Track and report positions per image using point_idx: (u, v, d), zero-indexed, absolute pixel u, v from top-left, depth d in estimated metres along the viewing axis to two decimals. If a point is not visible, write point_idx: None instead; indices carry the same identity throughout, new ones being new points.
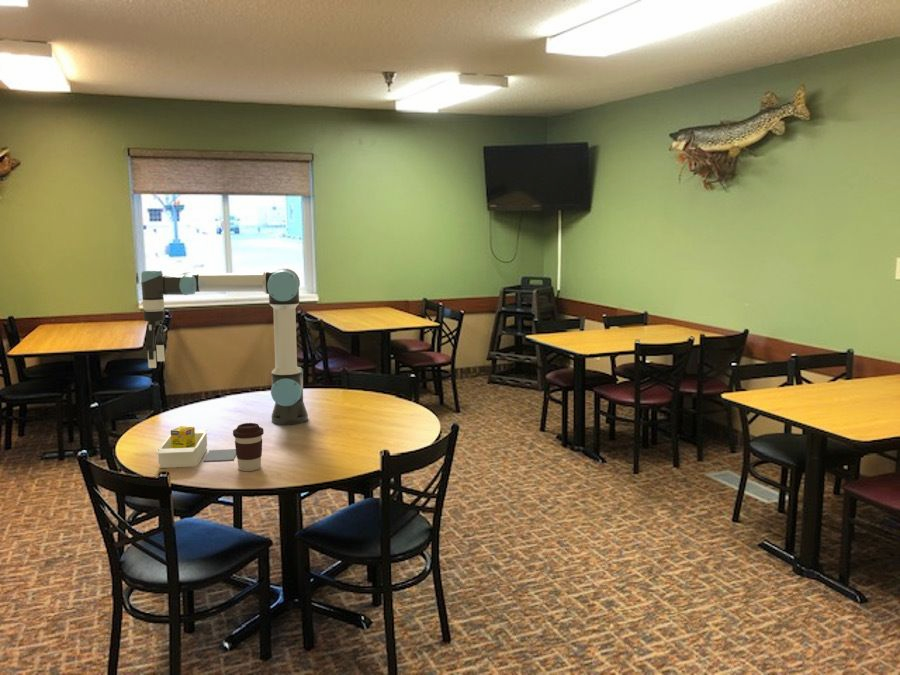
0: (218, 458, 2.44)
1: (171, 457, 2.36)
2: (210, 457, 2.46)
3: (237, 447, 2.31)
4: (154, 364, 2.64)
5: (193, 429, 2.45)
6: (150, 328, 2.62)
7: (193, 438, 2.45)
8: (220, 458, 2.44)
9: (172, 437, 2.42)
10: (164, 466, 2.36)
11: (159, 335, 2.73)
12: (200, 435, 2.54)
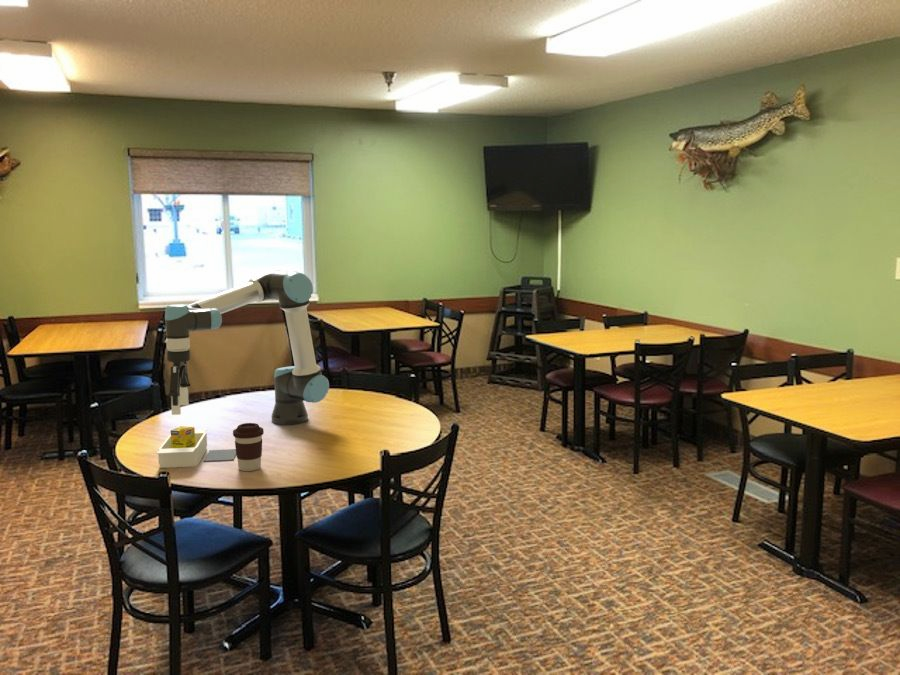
0: (218, 458, 2.44)
1: (171, 457, 2.36)
2: (210, 457, 2.46)
3: (237, 447, 2.31)
4: (178, 410, 2.36)
5: (193, 429, 2.45)
6: (174, 370, 2.34)
7: (193, 438, 2.45)
8: (220, 458, 2.44)
9: (172, 437, 2.42)
10: (164, 466, 2.36)
11: (183, 377, 2.45)
12: (200, 435, 2.54)
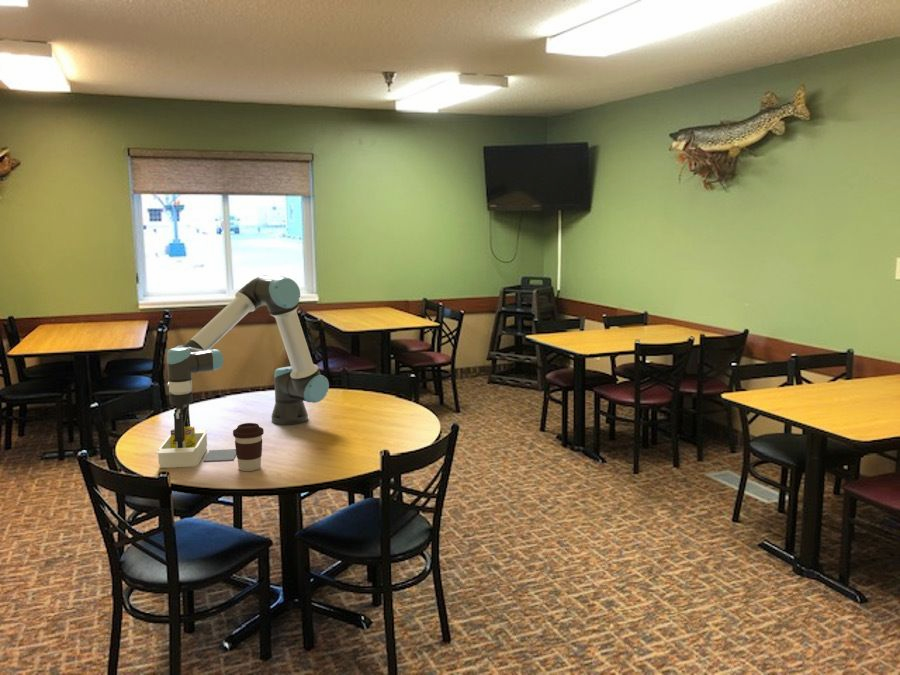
0: (218, 458, 2.44)
1: (171, 457, 2.36)
2: (210, 457, 2.46)
3: (237, 447, 2.31)
4: None
5: (193, 429, 2.45)
6: (178, 417, 2.37)
7: (193, 438, 2.45)
8: (220, 458, 2.44)
9: (172, 437, 2.42)
10: (164, 466, 2.36)
11: (185, 420, 2.46)
12: (200, 435, 2.54)
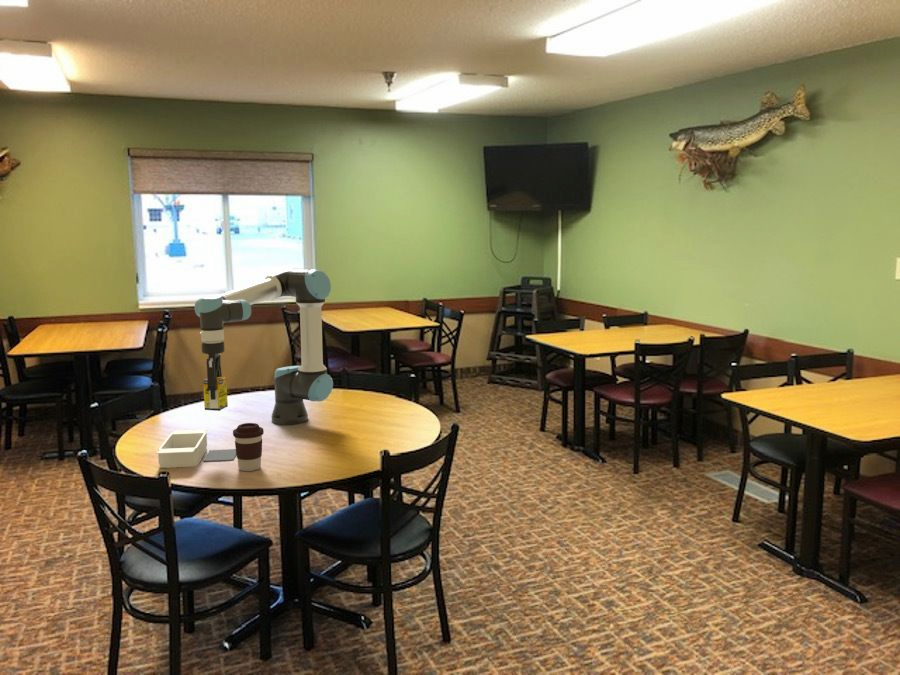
0: (218, 458, 2.44)
1: (171, 457, 2.36)
2: (210, 457, 2.46)
3: (237, 447, 2.31)
4: (216, 404, 2.41)
5: (225, 379, 2.46)
6: (210, 365, 2.37)
7: (225, 388, 2.46)
8: (220, 458, 2.44)
9: (205, 387, 2.42)
10: (164, 466, 2.36)
11: (217, 370, 2.46)
12: (200, 435, 2.54)
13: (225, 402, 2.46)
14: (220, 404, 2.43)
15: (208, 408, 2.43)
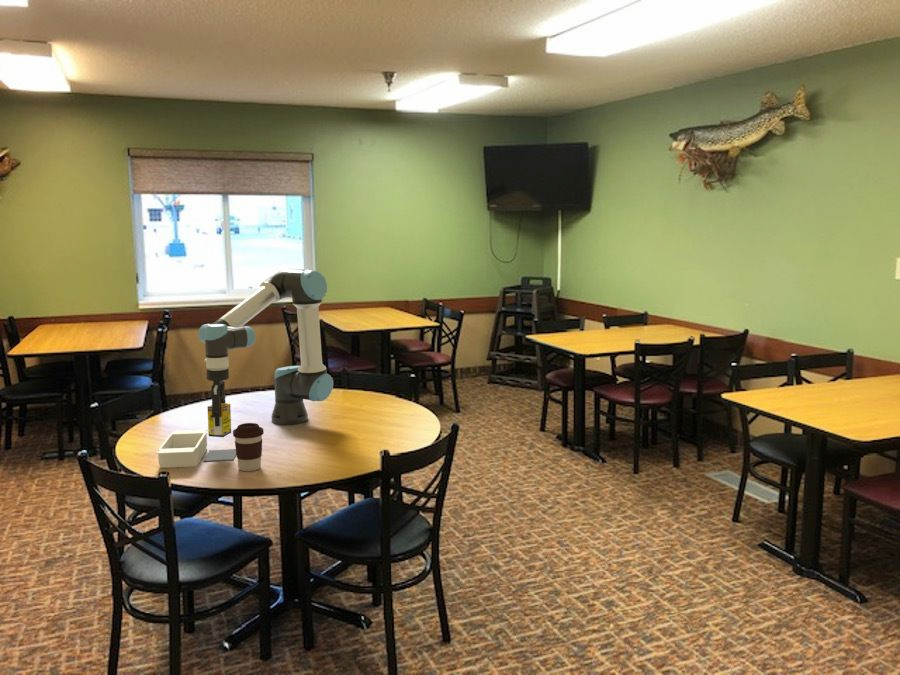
0: (218, 458, 2.44)
1: (171, 457, 2.36)
2: (210, 457, 2.46)
3: (237, 447, 2.31)
4: (220, 431, 2.43)
5: (229, 405, 2.47)
6: (215, 392, 2.39)
7: (229, 414, 2.47)
8: (220, 458, 2.44)
9: (209, 413, 2.44)
10: (164, 466, 2.36)
11: (221, 397, 2.48)
12: (200, 435, 2.54)
13: (228, 429, 2.48)
14: (224, 431, 2.45)
15: (212, 434, 2.45)
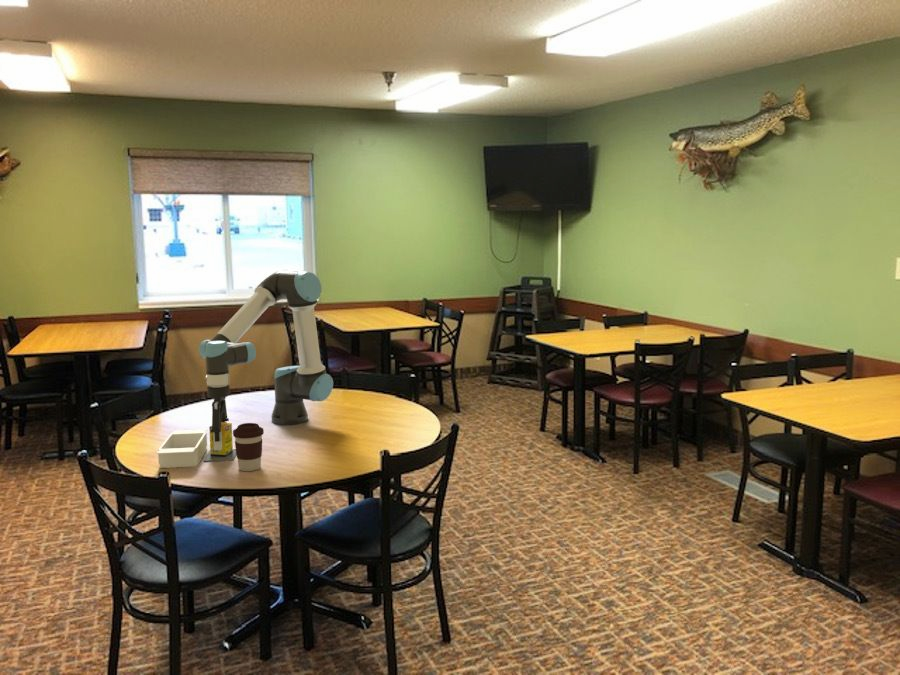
0: (218, 458, 2.44)
1: (171, 457, 2.36)
2: (210, 457, 2.46)
3: (237, 447, 2.31)
4: (220, 446, 2.42)
5: (231, 425, 2.49)
6: (216, 407, 2.39)
7: (230, 434, 2.49)
8: (220, 458, 2.44)
9: (211, 433, 2.45)
10: (164, 466, 2.36)
11: (222, 411, 2.50)
12: (200, 435, 2.54)
13: (230, 448, 2.49)
14: (226, 450, 2.46)
15: (214, 454, 2.46)
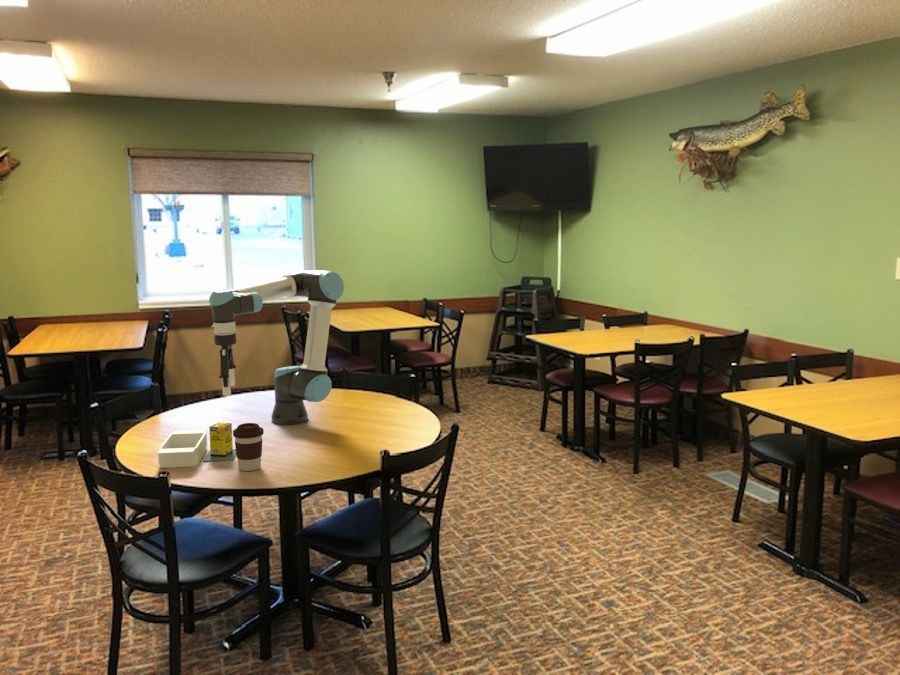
0: (218, 458, 2.44)
1: (171, 457, 2.36)
2: (210, 457, 2.46)
3: (237, 447, 2.31)
4: (229, 391, 2.47)
5: (230, 425, 2.49)
6: (224, 353, 2.44)
7: (230, 434, 2.49)
8: (220, 458, 2.44)
9: (211, 433, 2.45)
10: (164, 466, 2.36)
11: None
12: (200, 435, 2.54)
13: (230, 448, 2.49)
14: (226, 450, 2.46)
15: (214, 454, 2.46)
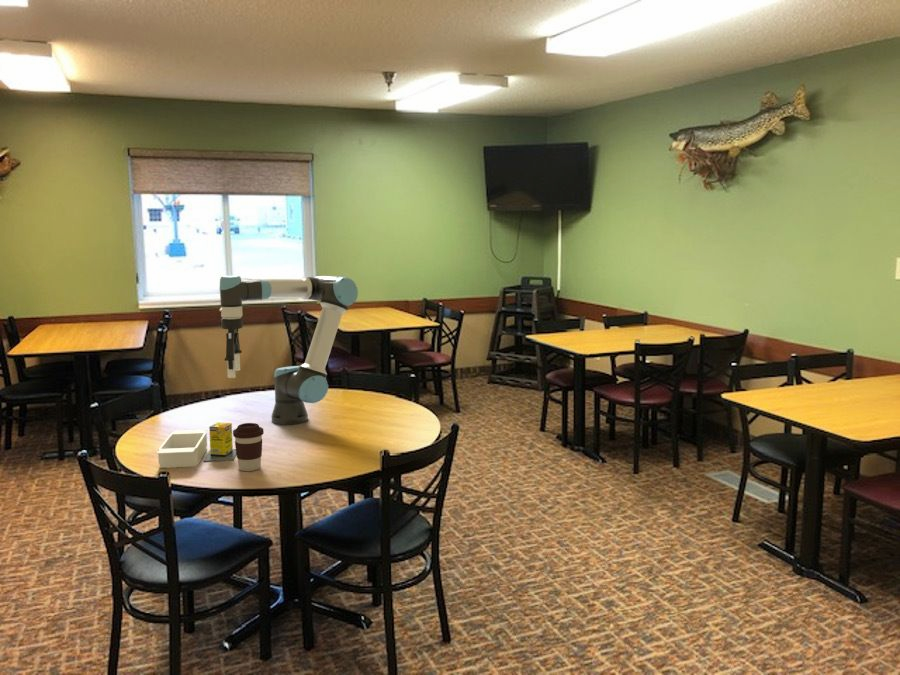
0: (218, 458, 2.44)
1: (171, 457, 2.36)
2: (210, 457, 2.46)
3: (237, 447, 2.31)
4: (233, 374, 2.53)
5: (230, 425, 2.49)
6: (230, 336, 2.51)
7: (230, 434, 2.49)
8: (220, 458, 2.44)
9: (211, 433, 2.45)
10: (164, 466, 2.36)
11: (236, 343, 2.62)
12: (200, 435, 2.54)
13: (230, 448, 2.49)
14: (226, 450, 2.46)
15: (214, 454, 2.46)
